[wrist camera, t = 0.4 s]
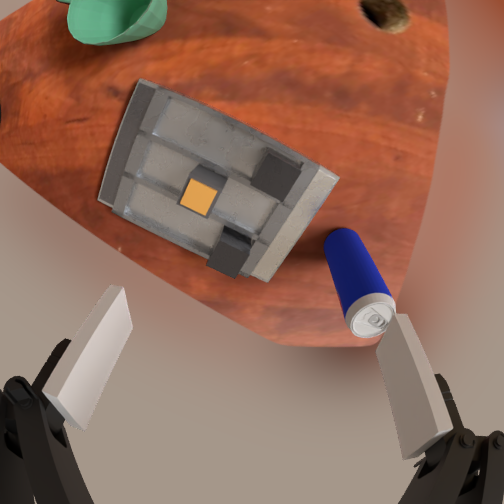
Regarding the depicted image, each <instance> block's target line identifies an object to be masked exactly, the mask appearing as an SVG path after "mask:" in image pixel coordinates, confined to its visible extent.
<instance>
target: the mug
mask: <svg viewBox="0 0 504 504" xmlns="http://www.w3.org/2000/svg"><path fill="white" fill-rule="evenodd" d="M56 1H57V2H60V3H65V4H68V5H70V6H69V10H68V15H67V22H68V29H69V31H70V33H71V34H72V36H73V37H74V39H76V40H78V41H80V42H81V43H83V44H90V45H110V44H118V43H124V42H130V41H135V40H139V39H142V38H144V37H147V36H149V35H152V34H154V33H156V32H157V31H158V30H160V28H161V27H162V26H163V25H164V22H165V20H166V14H167V0H56Z"/></svg>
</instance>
